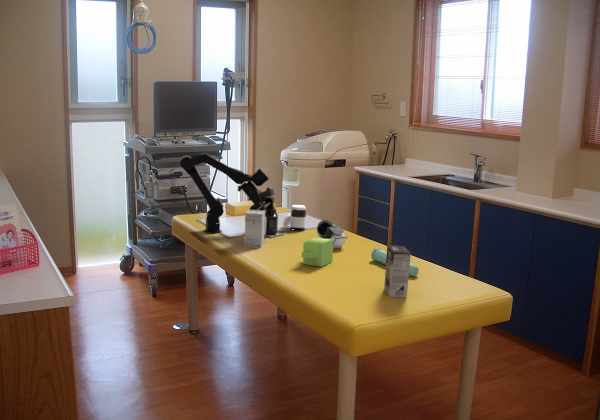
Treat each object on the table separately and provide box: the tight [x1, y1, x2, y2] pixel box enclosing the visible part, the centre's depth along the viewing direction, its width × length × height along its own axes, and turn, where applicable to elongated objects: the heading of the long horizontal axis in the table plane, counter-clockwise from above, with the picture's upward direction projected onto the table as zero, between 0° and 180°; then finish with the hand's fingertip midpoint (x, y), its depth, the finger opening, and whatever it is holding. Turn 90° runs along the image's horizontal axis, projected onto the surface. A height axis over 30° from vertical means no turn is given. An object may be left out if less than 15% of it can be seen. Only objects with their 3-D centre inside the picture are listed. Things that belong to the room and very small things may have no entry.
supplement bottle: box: [265, 207, 279, 235], centre depth 294 cm, size 7×7×12 cm
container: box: [370, 247, 420, 277], centre depth 249 cm, size 6×6×25 cm
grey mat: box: [264, 232, 284, 239], centre depth 295 cm, size 9×9×1 cm
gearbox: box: [301, 237, 334, 267], centre depth 253 cm, size 18×10×10 cm, turn 153°
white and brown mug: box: [282, 204, 307, 231], centre depth 309 cm, size 12×11×12 cm
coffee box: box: [383, 244, 411, 298], centre depth 218 cm, size 9×6×16 cm
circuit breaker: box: [243, 209, 267, 249], centre depth 277 cm, size 8×14×15 cm, turn 174°
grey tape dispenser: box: [316, 219, 348, 250], centre depth 283 cm, size 25×10×10 cm, turn 15°
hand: (273, 218), depth 293 cm, fingers open, 9 cm apart
